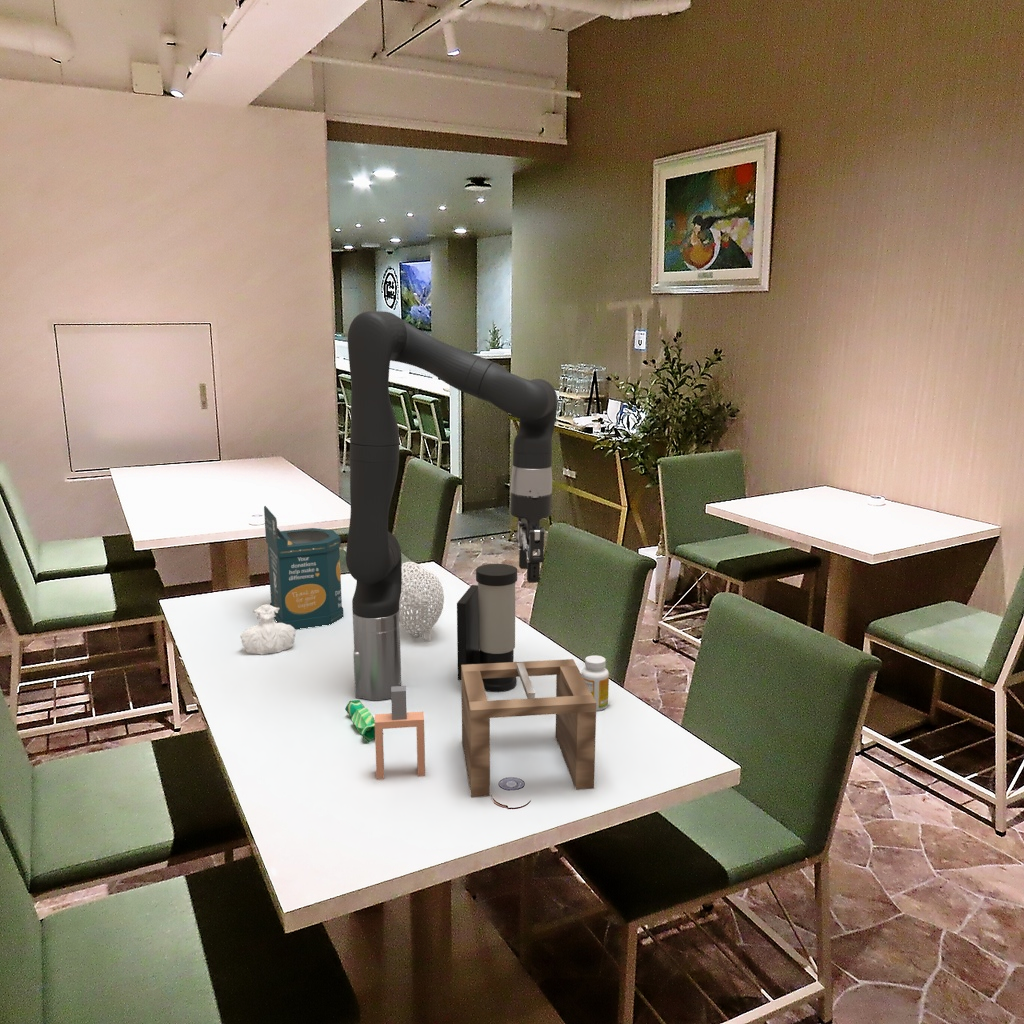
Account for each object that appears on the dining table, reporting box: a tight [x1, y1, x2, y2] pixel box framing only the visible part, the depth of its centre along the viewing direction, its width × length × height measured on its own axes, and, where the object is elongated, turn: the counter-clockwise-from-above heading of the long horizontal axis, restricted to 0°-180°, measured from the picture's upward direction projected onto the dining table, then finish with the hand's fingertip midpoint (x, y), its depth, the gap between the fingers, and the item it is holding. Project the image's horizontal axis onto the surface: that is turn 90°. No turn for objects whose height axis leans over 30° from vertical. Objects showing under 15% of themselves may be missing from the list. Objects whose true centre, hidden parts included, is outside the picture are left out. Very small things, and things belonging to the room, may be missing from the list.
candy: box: [344, 699, 375, 744], centre depth 162 cm, size 12×3×4 cm
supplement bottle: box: [580, 655, 610, 712], centre depth 171 cm, size 5×5×10 cm
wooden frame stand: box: [460, 658, 597, 798], centre depth 148 cm, size 20×18×16 cm
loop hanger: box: [374, 685, 426, 780], centre depth 145 cm, size 8×3×15 cm, turn 98°
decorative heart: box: [399, 561, 445, 643], centre depth 206 cm, size 18×11×17 cm, turn 29°
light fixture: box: [456, 563, 518, 693], centre depth 179 cm, size 12×11×25 cm
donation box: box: [263, 505, 345, 630], centre depth 218 cm, size 16×16×28 cm
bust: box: [240, 603, 296, 655], centre depth 199 cm, size 12×8×11 cm
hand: (528, 575), depth 164 cm, fingers open, 8 cm apart
